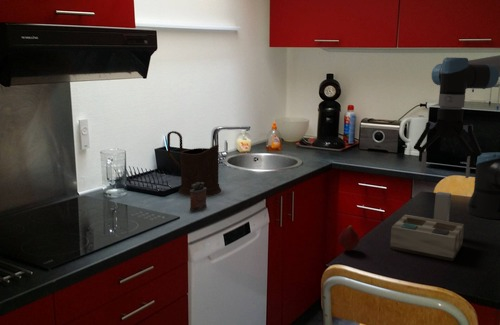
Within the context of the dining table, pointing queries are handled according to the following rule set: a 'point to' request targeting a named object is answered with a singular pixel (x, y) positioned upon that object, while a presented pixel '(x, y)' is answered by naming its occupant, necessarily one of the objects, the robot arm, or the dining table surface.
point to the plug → (442, 206)
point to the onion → (349, 238)
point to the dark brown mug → (197, 168)
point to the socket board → (427, 237)
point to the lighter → (198, 197)
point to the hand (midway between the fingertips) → (444, 174)
